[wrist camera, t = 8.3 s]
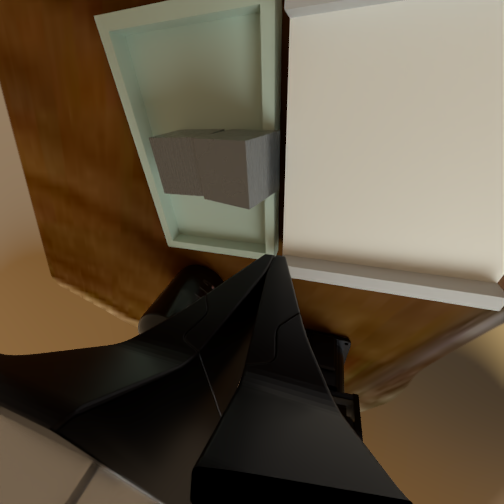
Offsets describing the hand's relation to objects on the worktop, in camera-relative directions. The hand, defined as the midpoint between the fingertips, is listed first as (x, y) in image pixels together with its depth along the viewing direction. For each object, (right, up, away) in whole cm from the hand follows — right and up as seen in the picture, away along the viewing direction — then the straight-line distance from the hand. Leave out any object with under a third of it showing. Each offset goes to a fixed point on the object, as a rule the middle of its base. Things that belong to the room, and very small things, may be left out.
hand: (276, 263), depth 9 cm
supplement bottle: (-7, -4, +21) cm, 23 cm away
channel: (+9, +7, +7) cm, 13 cm away
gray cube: (-4, +7, +8) cm, 11 cm away
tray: (-4, +9, +10) cm, 14 cm away
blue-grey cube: (-1, +7, +8) cm, 11 cm away
